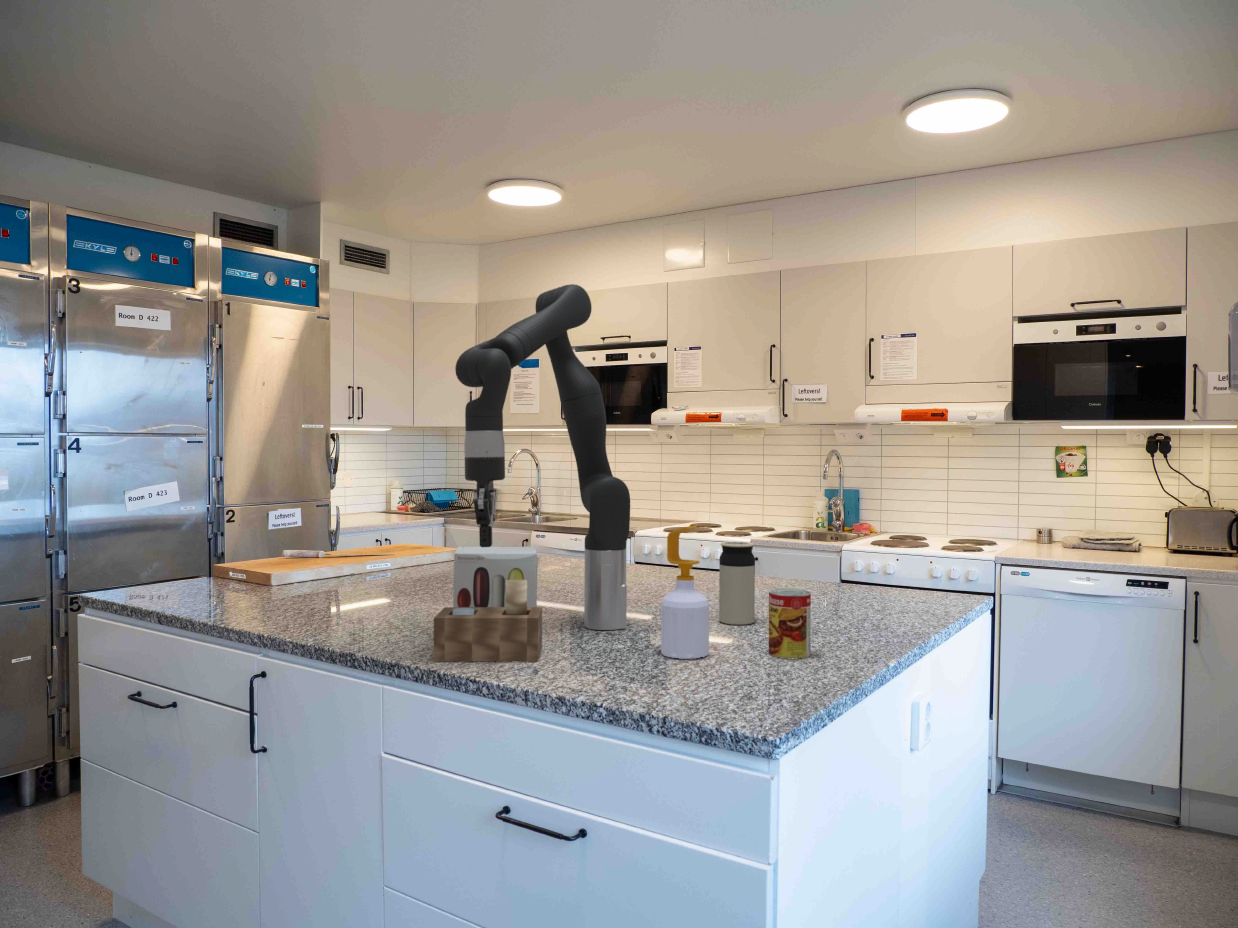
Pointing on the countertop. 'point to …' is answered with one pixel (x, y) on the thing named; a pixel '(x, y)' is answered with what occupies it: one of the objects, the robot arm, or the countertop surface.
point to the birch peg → (516, 597)
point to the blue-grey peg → (463, 611)
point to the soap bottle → (684, 610)
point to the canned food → (789, 623)
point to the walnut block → (488, 635)
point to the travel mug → (737, 583)
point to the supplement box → (492, 574)
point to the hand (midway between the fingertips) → (486, 546)
